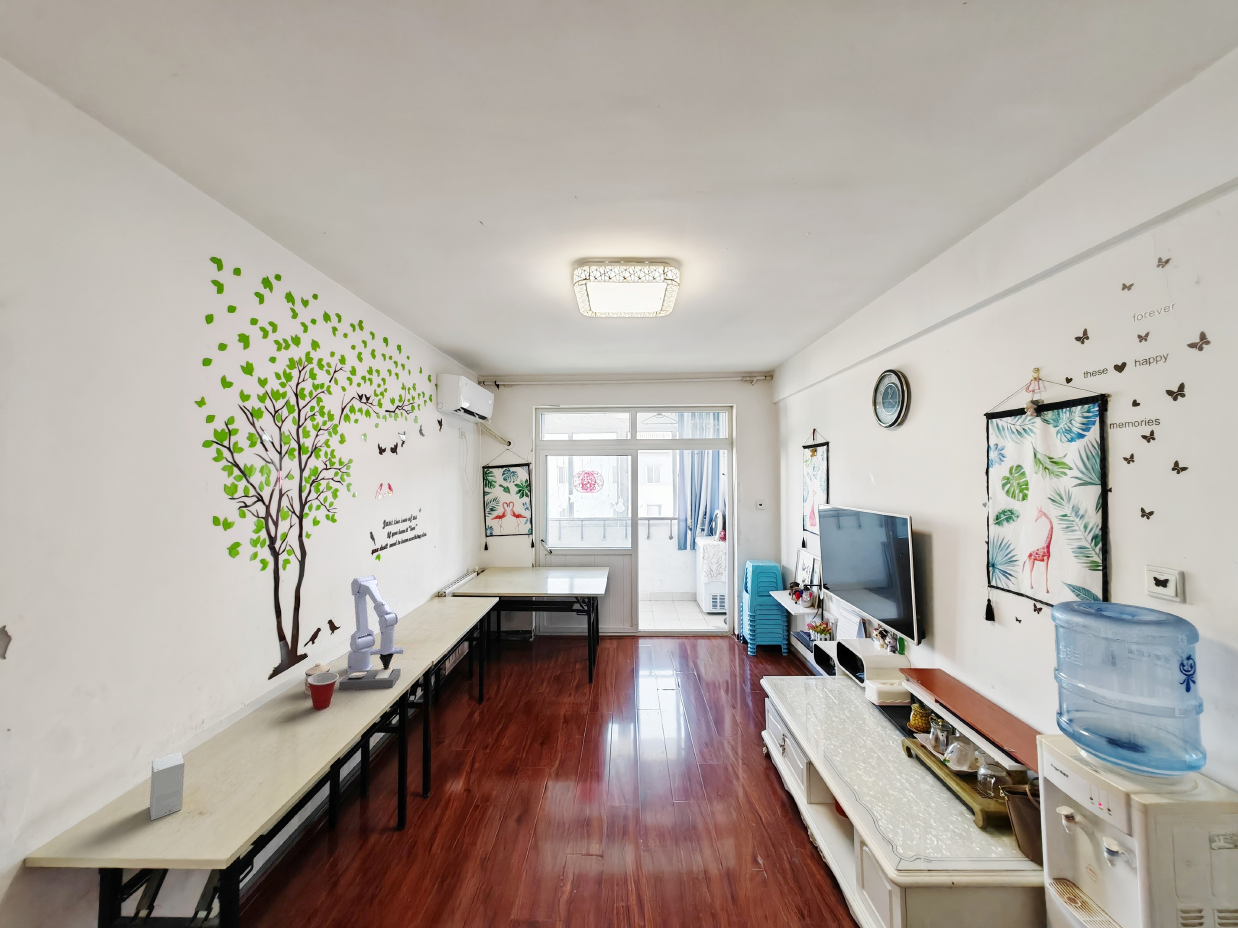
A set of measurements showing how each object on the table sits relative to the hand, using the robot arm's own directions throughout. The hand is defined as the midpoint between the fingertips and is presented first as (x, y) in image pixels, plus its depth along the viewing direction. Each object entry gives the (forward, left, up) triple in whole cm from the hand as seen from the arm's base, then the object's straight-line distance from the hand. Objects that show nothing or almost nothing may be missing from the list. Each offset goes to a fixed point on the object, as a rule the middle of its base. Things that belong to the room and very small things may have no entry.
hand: (386, 669), depth 220 cm
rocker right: (0, -3, 0) cm, 3 cm away
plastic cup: (-17, -24, -4) cm, 30 cm away
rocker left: (-11, -3, 0) cm, 11 cm away
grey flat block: (-6, -3, -4) cm, 8 cm away
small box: (-34, -81, -4) cm, 88 cm away
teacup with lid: (-24, -9, -4) cm, 26 cm away
